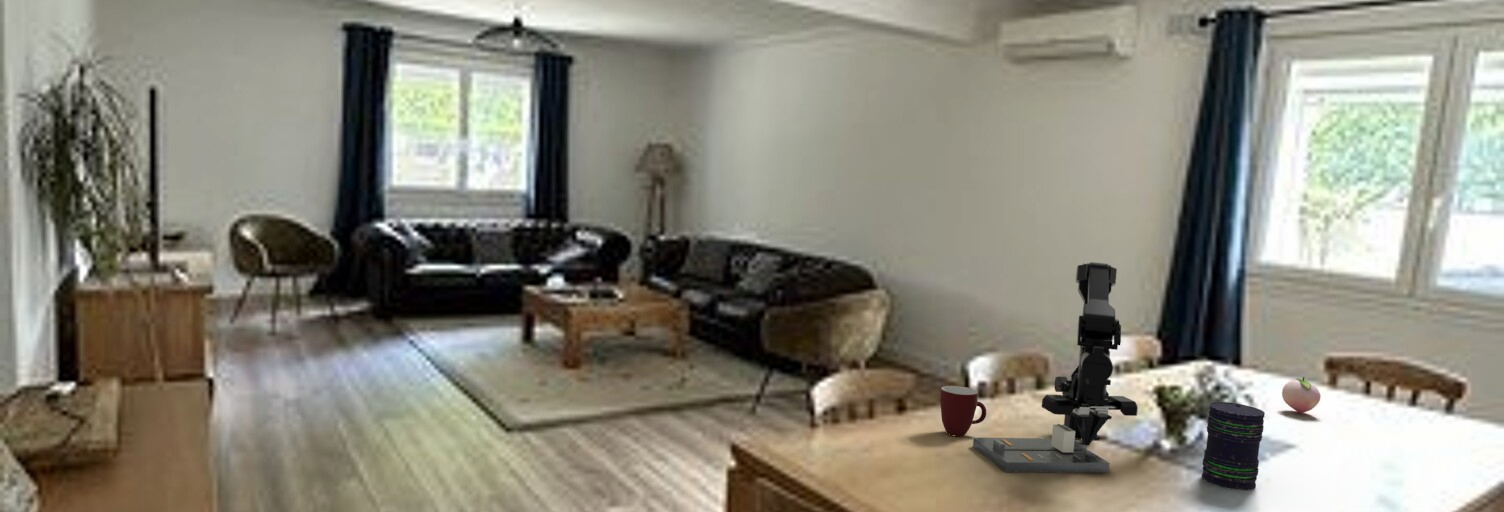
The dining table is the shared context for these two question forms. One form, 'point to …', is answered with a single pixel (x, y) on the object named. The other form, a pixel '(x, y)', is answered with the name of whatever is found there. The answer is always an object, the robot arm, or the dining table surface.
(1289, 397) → the decorative fruit
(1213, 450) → the storage jar
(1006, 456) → the console
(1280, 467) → the dining table surface
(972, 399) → the mug
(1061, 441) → the fader
